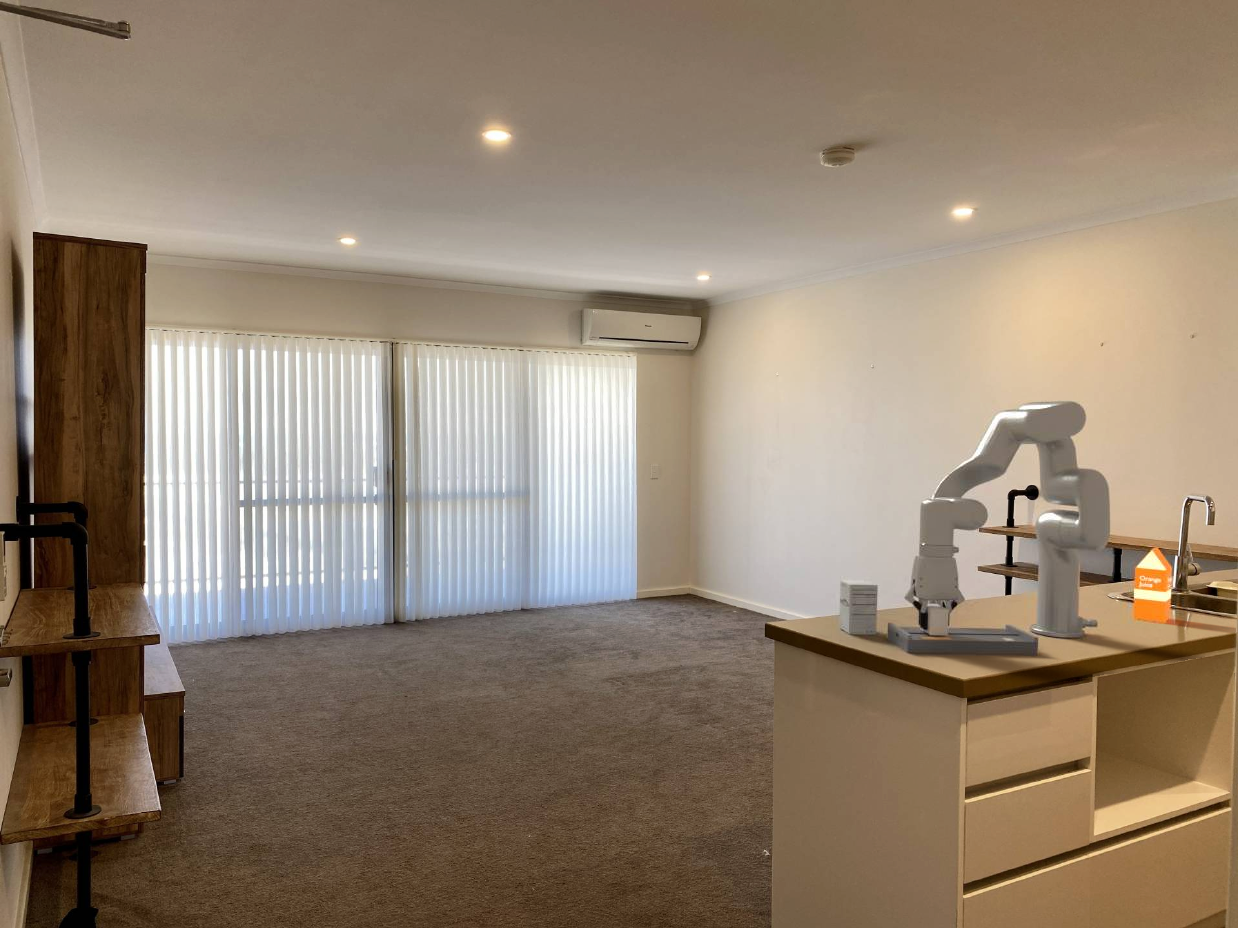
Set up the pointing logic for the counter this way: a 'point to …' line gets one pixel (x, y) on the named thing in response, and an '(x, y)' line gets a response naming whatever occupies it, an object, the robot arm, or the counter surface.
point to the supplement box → (858, 607)
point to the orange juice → (1153, 588)
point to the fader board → (965, 641)
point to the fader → (937, 620)
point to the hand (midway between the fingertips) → (933, 628)
